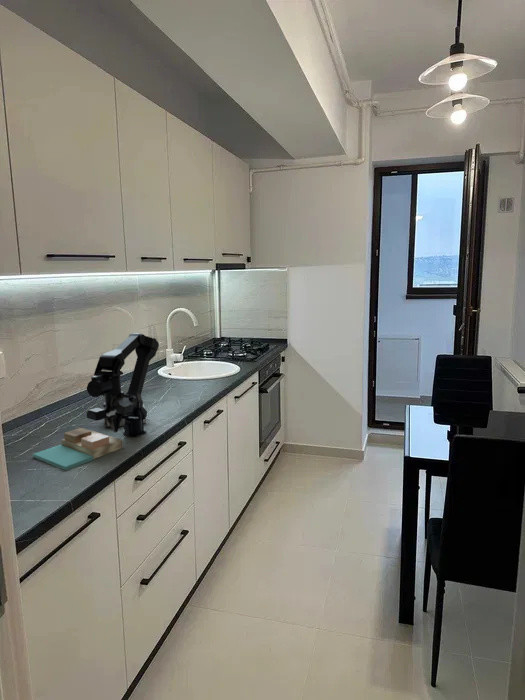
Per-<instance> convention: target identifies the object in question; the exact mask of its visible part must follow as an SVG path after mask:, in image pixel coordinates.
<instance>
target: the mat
mask: <svg viewBox="0 0 525 700" xmlns="http://www.w3.org/2000/svg"><path fill="white" fill-rule="evenodd" d="M32 457H33V458H34V459H37V460H40V461H41V462H44V463H47V464H49V465H52V466H54V467H56V468H58V469H61V470H64V471H68V470H71V469H73V468H75V467H78V466H81V465H83V464H86V463H88V462H91V461H94V459H93V456H91V455H88V454H85V453H82V452H79V451H77V450H74V449H71V448H68V447H66V446H63V445H62V444H59V445H56V446H53V447H49V448H47V449H44V450H41V451H38V452H34V453H33V454H32Z"/></svg>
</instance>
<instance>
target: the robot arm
mask: <svg viewBox="0 0 525 700" xmlns="http://www.w3.org/2000/svg"><path fill="white" fill-rule="evenodd" d="M159 347H160V343H159V341H158V340H157V339H156V338H155V337H153V338H152V337H150V336H147V335H145V334H144V333H140V332H139V333H136V332H135V333H134V332H131V333H130V334H129V335H128V337H127V338H126V339H124V341H122V342H121V343H120V344H119V345H117V347H115V348H114V349H112V350H109V351H107V352H104V353H102V354H101V355H100V357H99V358H98V360H97V365H96V367H95V369H94V373H93V376H91V379H90V381H89V382H88V383H87V386H86V391H87V393H88V395H90V396H91V397H92V398H98V397H100V396H103V397H104V403H103V404H102V407H103V408H100V407H94V408H91V409H88V410H87V411H86V418H87V419H88V420H89V419H90V420H93V421H102V420H104V418H106V420H107V421H108V422H109V424H110V426H111V427H110V428H111V429H112V431H113V432H114V433H118V431H119V428H120V426H119V425H120V422H121V419H125V424H124V425H123V427H124V432H122V434H123V435H125V436H129V437H131V438H136V437H138V436H141V435H144V434H147V432H148V431H147V430H144V429H145V428H144V423H143V419H146V420H147V416H148V411H147V409H146V408H145V409H146V410H145V409H144V407H143V404H144V402H143V398H142V392H143V389H144V385H145V384H144V383H145V380H146V377H147V373H148V369H149V365H150V361H151V360H153V358H154V357H155V356H156V355H157V352H158V350H159ZM134 351H135V354H136V361H135V365H134V368H133V372H132V376H131V379H130V383H129V387H128V390H127V392H126V393H125V391H122V383H121V382H122V381H121V376H122V375H124V372H123V371H122V370H121V369H122V368H123V367H124V365H125V360H126V358H128V356H130V355H131V354H132V353H133V352H134ZM104 407H106V408H105V409H104Z"/></svg>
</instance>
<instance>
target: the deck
mask: <svg viewBox="0 0 525 700" xmlns="http://www.w3.org/2000/svg"><path fill="white" fill-rule="evenodd" d="M89 431H91V433H92V435H93V434H96V433H99V434H102V435H106V436H109V444H106V445H104V446H101V447H98V448H95V449H90V448H88V447H85V446H82V445H81V442H78V443H73V442H70V441H67V440H65V438H64V439H61V445H63V446H66V447H68V448H71V449H74V450H77V451H79V452H82V453H85V454H88V455H91V456H93V460H94V459H97V458H99V457H102V456H105V455H108V454H111V453H112V452H115V451H118V450H120V449H123V448H124V447H123V439H121V438H117V437H115V436H112V435H107V434H105V433H102V432H100V431H99V432H98V431H94V430H91V429H90V430H89Z"/></svg>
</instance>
